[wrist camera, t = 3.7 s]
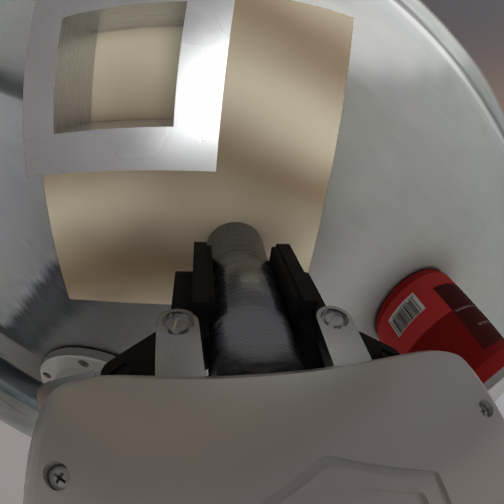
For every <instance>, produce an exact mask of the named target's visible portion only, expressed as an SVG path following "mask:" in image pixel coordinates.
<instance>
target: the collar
mask: <svg viewBox="0 0 504 504" xmlns="http://www.w3.org/2000/svg"><path fill="white" fill-rule="evenodd" d="M234 4H235V0H36V4H35V9H34V13H33V18H32V23H31V28H30V33H29V39H28V46H27V54H26V62H25V73H24V89H23V137H24V153H25V164H26V174H27V177H30V176H40V175H52V174H64V173H79V172H99V171H132V170H177V171H211V172H216V164H217V152H218V140H219V129H220V118H221V108H222V98H223V89H224V80H225V71H226V62H227V54H228V46H229V39H230V31H231V24H232V17H233V10H234ZM169 26H183V33H182V41H181V48H180V57H179V66H178V75H177V86H176V97H175V111H174V118H153V119H126V120H110V121H97V122H91V104H92V84H93V71H94V60H95V51H96V43H97V36H98V33H104V32H110V31H118V30H126V29H136V28H148V27H169Z"/></svg>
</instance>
